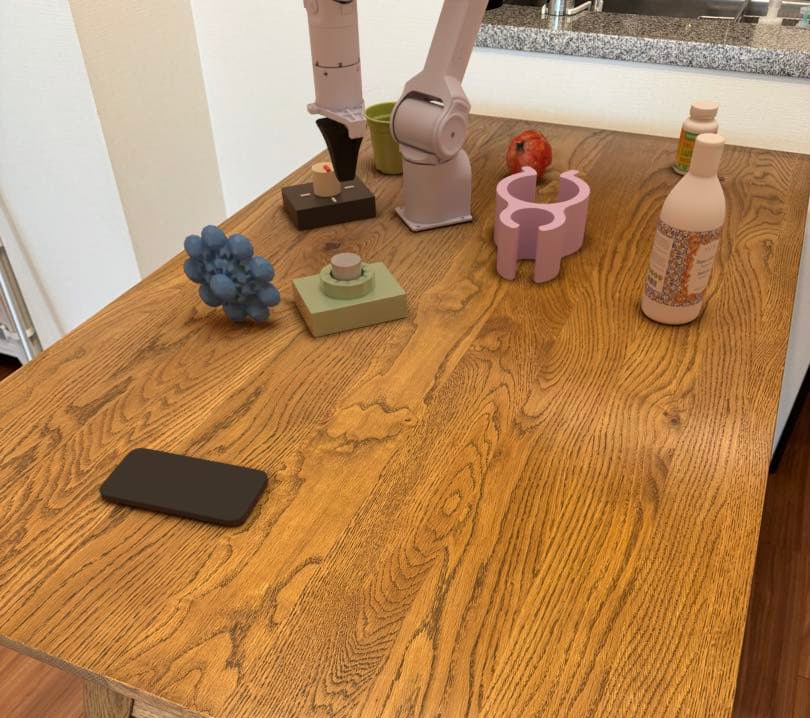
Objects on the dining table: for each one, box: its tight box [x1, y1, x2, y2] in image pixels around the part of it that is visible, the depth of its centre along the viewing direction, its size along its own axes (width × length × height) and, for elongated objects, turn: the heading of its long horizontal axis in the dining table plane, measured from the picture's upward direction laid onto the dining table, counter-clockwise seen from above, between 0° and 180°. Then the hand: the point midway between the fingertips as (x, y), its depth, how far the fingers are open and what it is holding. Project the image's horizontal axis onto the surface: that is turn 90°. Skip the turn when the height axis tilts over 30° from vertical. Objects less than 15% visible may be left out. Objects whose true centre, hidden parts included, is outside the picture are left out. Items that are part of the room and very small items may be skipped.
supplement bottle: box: [673, 100, 720, 177], centre depth 122 cm, size 5×5×10 cm
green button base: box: [291, 260, 408, 338], centre depth 96 cm, size 12×9×5 cm
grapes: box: [182, 224, 282, 323], centre depth 92 cm, size 12×7×12 cm, turn 78°
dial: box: [310, 161, 341, 197], centre depth 115 cm, size 4×4×4 cm
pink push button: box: [330, 252, 362, 281], centre depth 94 cm, size 4×4×2 cm
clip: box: [493, 166, 591, 284], centre depth 106 cm, size 20×12×7 cm, turn 165°
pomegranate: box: [505, 129, 553, 182], centre depth 123 cm, size 7×7×10 cm
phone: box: [99, 447, 269, 527], centre depth 75 cm, size 7×1×15 cm
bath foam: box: [640, 133, 727, 325], centre depth 88 cm, size 7×7×20 cm
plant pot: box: [364, 101, 403, 175], centre depth 127 cm, size 9×9×9 cm
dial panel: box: [280, 174, 377, 232], centre depth 117 cm, size 12×9×3 cm
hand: (345, 179), depth 102 cm, fingers closed
